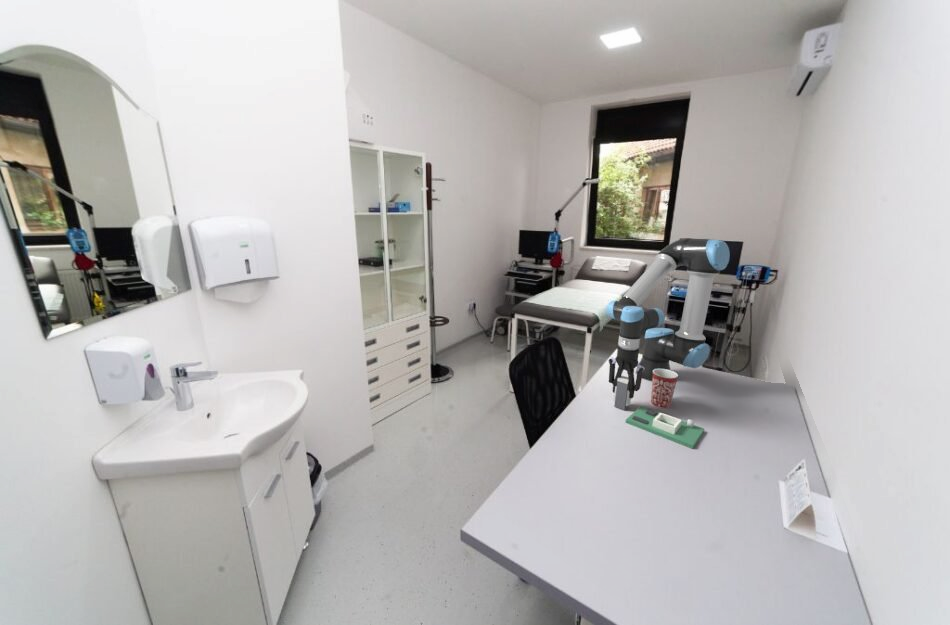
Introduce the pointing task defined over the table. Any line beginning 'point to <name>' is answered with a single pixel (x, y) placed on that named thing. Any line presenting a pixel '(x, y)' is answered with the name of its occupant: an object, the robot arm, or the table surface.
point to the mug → (663, 387)
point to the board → (666, 426)
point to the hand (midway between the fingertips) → (621, 402)
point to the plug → (621, 392)
